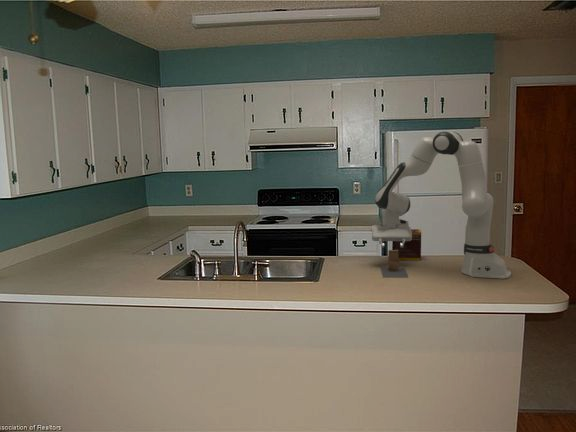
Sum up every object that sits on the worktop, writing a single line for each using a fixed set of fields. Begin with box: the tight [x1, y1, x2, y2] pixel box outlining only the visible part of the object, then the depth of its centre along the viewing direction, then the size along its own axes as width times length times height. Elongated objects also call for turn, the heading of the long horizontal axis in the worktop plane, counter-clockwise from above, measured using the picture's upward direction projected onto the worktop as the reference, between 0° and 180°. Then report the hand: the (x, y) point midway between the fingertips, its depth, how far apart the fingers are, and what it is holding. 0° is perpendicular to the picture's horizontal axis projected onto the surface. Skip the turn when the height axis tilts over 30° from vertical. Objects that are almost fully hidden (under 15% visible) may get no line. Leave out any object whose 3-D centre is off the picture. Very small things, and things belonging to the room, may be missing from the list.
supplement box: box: [391, 228, 422, 262], centre depth 284 cm, size 10×15×16 cm
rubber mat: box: [380, 266, 409, 279], centre depth 254 cm, size 20×12×1 cm, turn 173°
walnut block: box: [387, 249, 399, 271], centre depth 257 cm, size 4×4×10 cm
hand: (392, 247), depth 262 cm, fingers open, 8 cm apart
